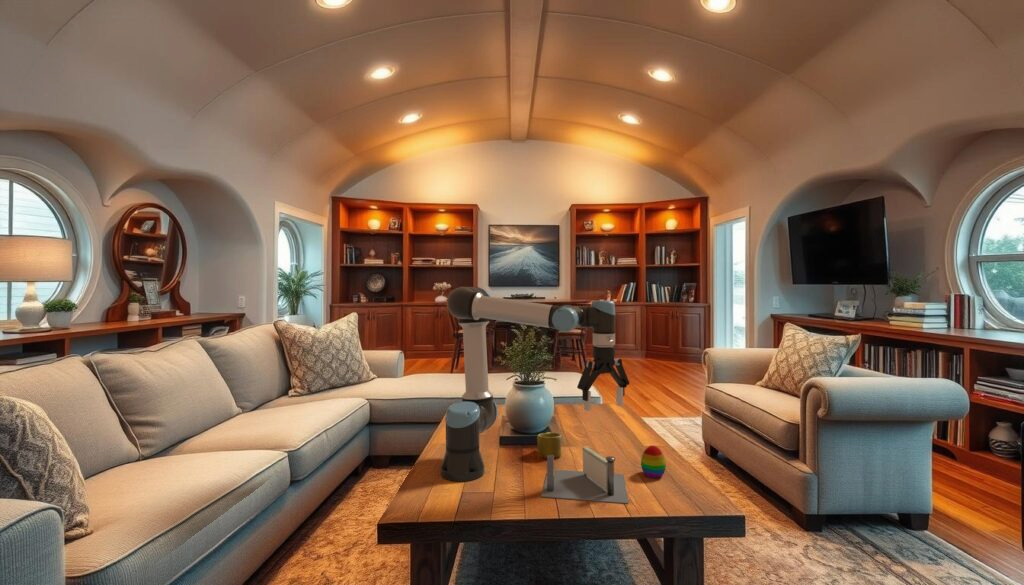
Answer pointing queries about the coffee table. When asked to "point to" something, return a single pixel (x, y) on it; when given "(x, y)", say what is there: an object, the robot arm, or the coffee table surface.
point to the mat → (584, 488)
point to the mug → (549, 444)
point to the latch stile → (550, 472)
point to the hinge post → (610, 475)
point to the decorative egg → (653, 462)
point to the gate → (595, 466)
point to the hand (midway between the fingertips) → (603, 408)
